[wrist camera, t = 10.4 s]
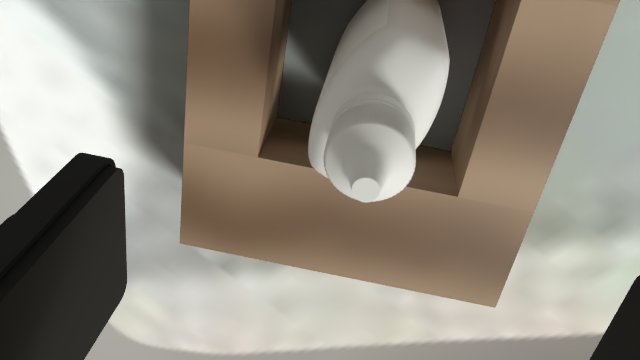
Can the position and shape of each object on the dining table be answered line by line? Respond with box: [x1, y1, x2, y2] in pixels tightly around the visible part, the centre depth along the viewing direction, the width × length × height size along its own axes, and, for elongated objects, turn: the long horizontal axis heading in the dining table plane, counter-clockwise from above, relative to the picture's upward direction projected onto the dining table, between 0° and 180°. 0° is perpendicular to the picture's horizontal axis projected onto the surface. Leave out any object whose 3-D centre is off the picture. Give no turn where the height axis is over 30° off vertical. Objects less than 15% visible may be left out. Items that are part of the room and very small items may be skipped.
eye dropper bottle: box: [308, 0, 450, 203], centre depth 19 cm, size 4×6×12 cm
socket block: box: [180, 0, 620, 307], centre depth 23 cm, size 18×14×4 cm
